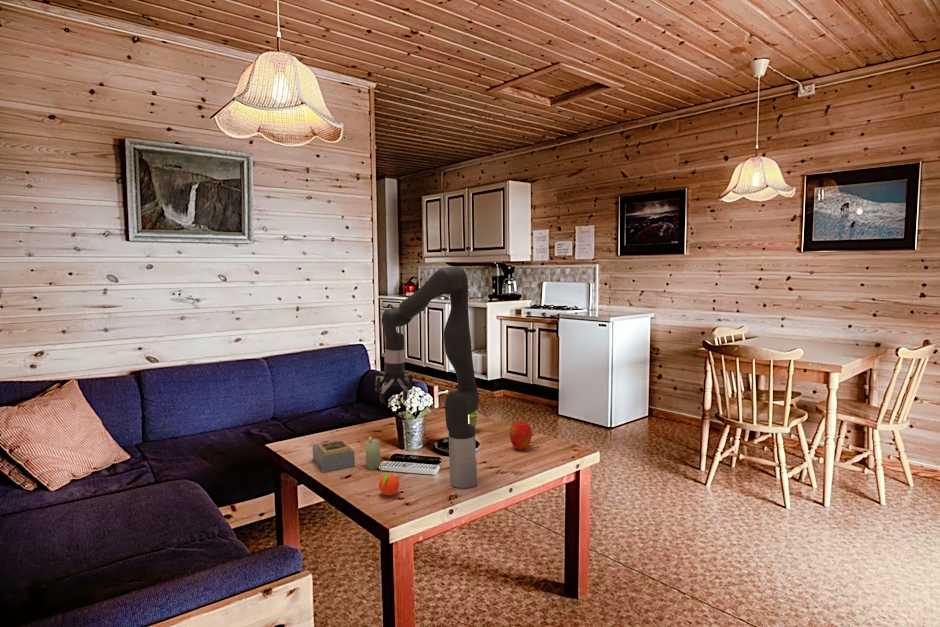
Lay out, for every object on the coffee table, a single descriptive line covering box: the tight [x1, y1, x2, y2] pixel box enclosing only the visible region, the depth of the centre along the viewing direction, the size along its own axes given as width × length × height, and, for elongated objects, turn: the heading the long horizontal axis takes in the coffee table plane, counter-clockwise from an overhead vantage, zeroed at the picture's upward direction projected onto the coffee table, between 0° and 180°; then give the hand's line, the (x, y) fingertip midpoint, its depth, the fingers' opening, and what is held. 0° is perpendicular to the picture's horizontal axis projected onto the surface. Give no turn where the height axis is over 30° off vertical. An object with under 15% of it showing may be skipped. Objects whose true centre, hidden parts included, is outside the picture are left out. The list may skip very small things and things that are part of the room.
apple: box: [508, 420, 533, 451], centre depth 231 cm, size 9×9×12 cm
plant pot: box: [470, 411, 479, 429], centre depth 254 cm, size 9×9×9 cm
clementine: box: [378, 473, 400, 497], centre depth 190 cm, size 8×7×7 cm
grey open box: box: [311, 439, 356, 474], centre depth 220 cm, size 16×12×8 cm
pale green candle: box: [365, 436, 381, 470], centre depth 215 cm, size 5×5×12 cm
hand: (393, 401), depth 219 cm, fingers open, 8 cm apart
